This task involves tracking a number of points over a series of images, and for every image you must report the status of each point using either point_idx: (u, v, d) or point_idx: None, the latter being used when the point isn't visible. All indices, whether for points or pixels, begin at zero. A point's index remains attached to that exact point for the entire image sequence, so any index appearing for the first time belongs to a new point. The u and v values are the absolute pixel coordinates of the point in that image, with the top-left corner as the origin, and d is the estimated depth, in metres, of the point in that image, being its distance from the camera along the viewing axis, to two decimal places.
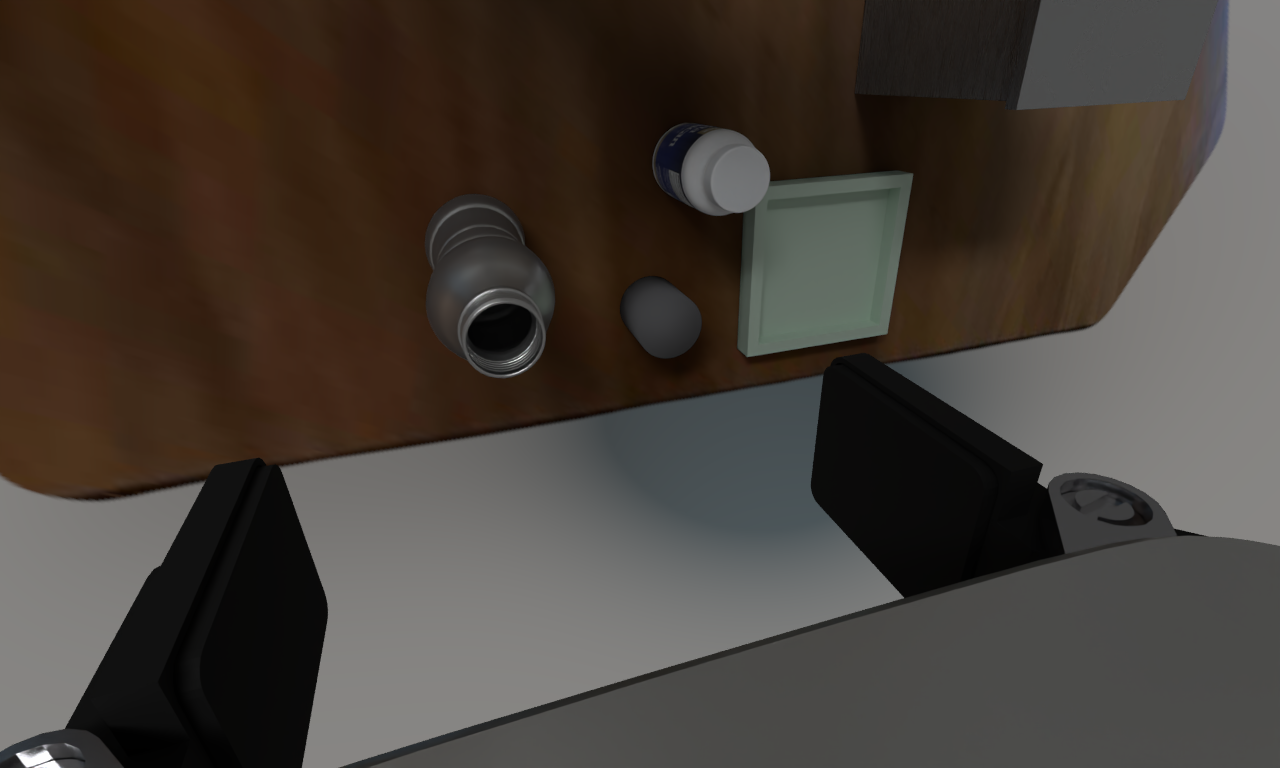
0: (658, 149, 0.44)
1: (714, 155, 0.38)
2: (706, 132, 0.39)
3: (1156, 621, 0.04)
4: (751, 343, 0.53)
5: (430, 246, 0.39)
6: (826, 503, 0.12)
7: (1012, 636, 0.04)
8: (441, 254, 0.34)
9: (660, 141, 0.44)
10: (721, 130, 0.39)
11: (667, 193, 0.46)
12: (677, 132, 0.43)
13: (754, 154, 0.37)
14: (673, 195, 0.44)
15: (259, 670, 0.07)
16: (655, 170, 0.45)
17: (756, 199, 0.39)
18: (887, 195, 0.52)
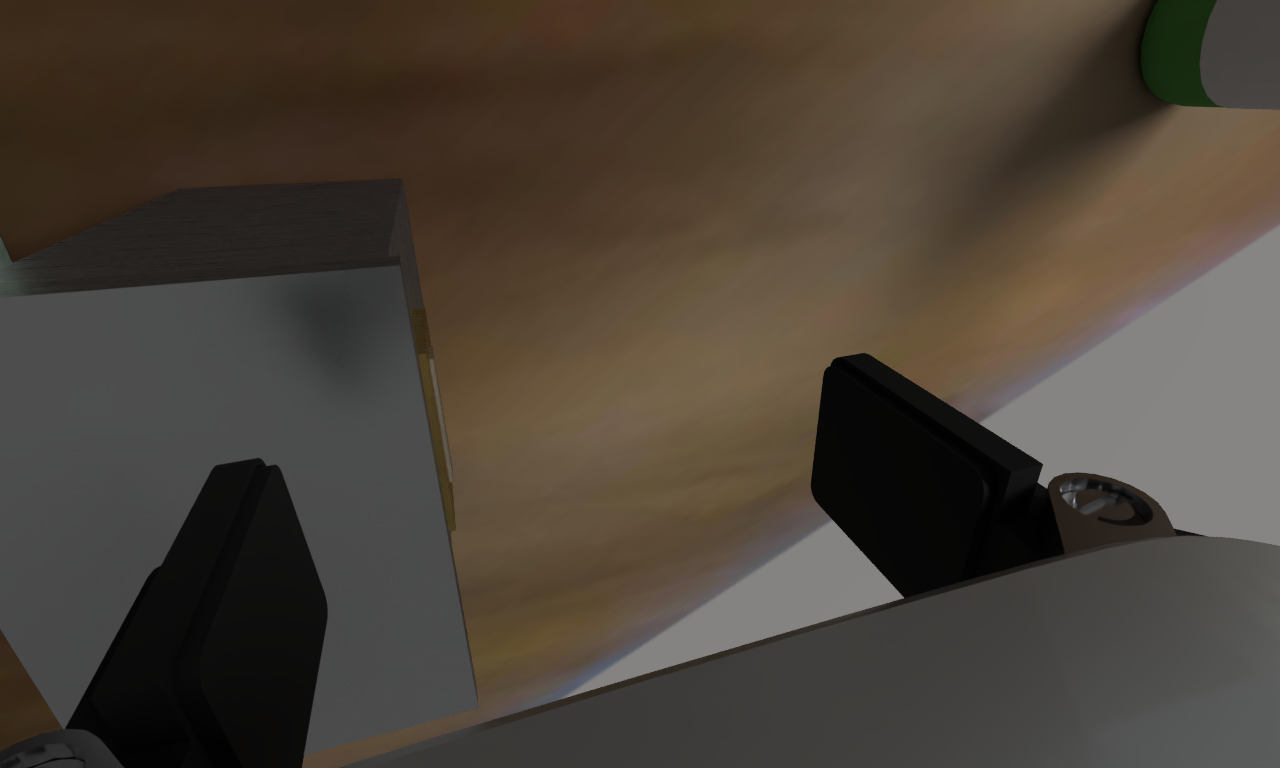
0: None
1: None
2: None
3: (1156, 621, 0.04)
4: None
5: None
6: (826, 503, 0.12)
7: (1012, 636, 0.04)
8: None
9: None
10: None
11: None
12: None
13: None
14: None
15: (259, 670, 0.07)
16: None
17: None
18: None
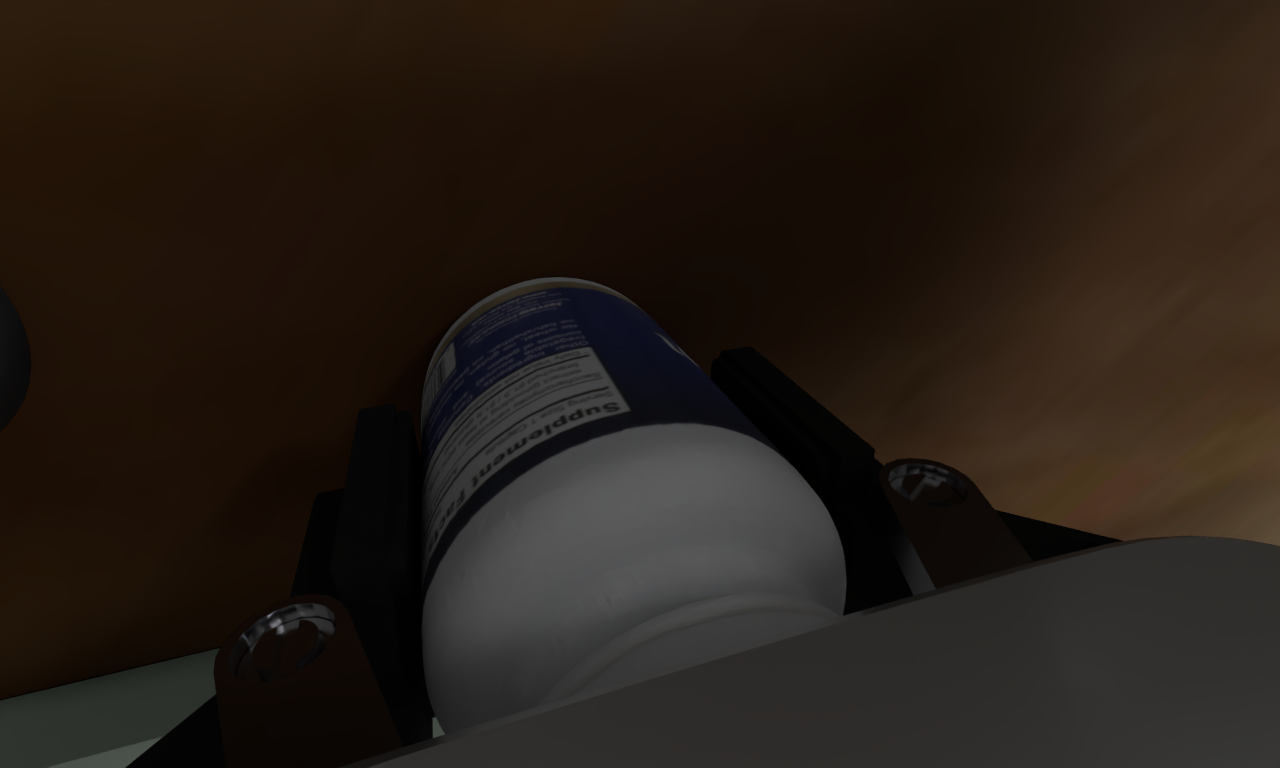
0: (608, 295, 0.12)
1: None
2: None
3: (1156, 621, 0.04)
4: None
5: None
6: None
7: (1013, 635, 0.04)
8: None
9: (626, 299, 0.12)
10: None
11: (443, 349, 0.11)
12: None
13: None
14: (455, 380, 0.10)
15: None
16: (529, 290, 0.11)
17: None
18: None
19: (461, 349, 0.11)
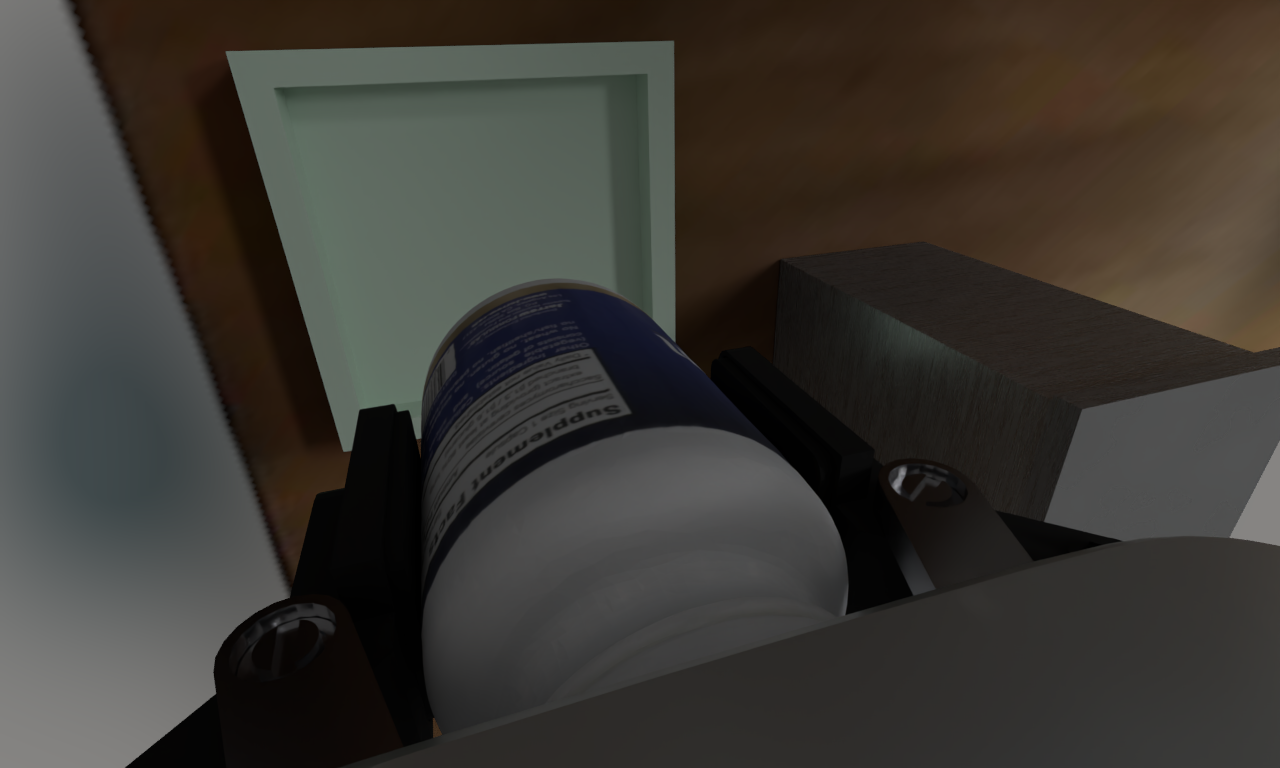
0: (609, 296, 0.12)
1: None
2: None
3: (1156, 621, 0.04)
4: (274, 62, 0.19)
5: None
6: None
7: (1011, 635, 0.04)
8: None
9: (627, 300, 0.12)
10: None
11: (443, 351, 0.11)
12: None
13: None
14: (455, 382, 0.10)
15: None
16: (529, 292, 0.11)
17: None
18: None
19: (461, 351, 0.11)
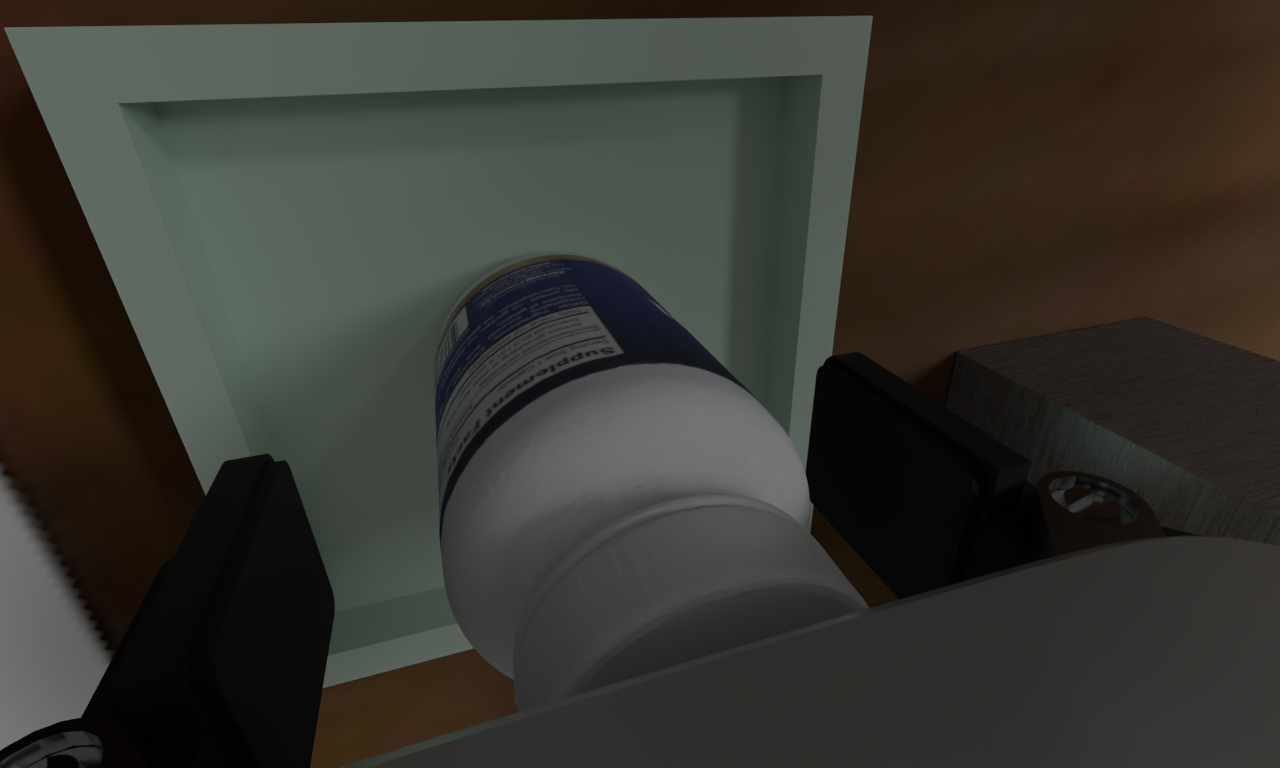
0: (606, 266, 0.13)
1: (807, 534, 0.07)
2: None
3: (1156, 621, 0.04)
4: (115, 50, 0.09)
5: None
6: (819, 502, 0.12)
7: (1011, 635, 0.04)
8: None
9: (623, 272, 0.13)
10: None
11: (456, 313, 0.12)
12: None
13: None
14: (468, 337, 0.11)
15: (270, 662, 0.07)
16: (534, 261, 0.13)
17: None
18: None
19: (473, 311, 0.12)
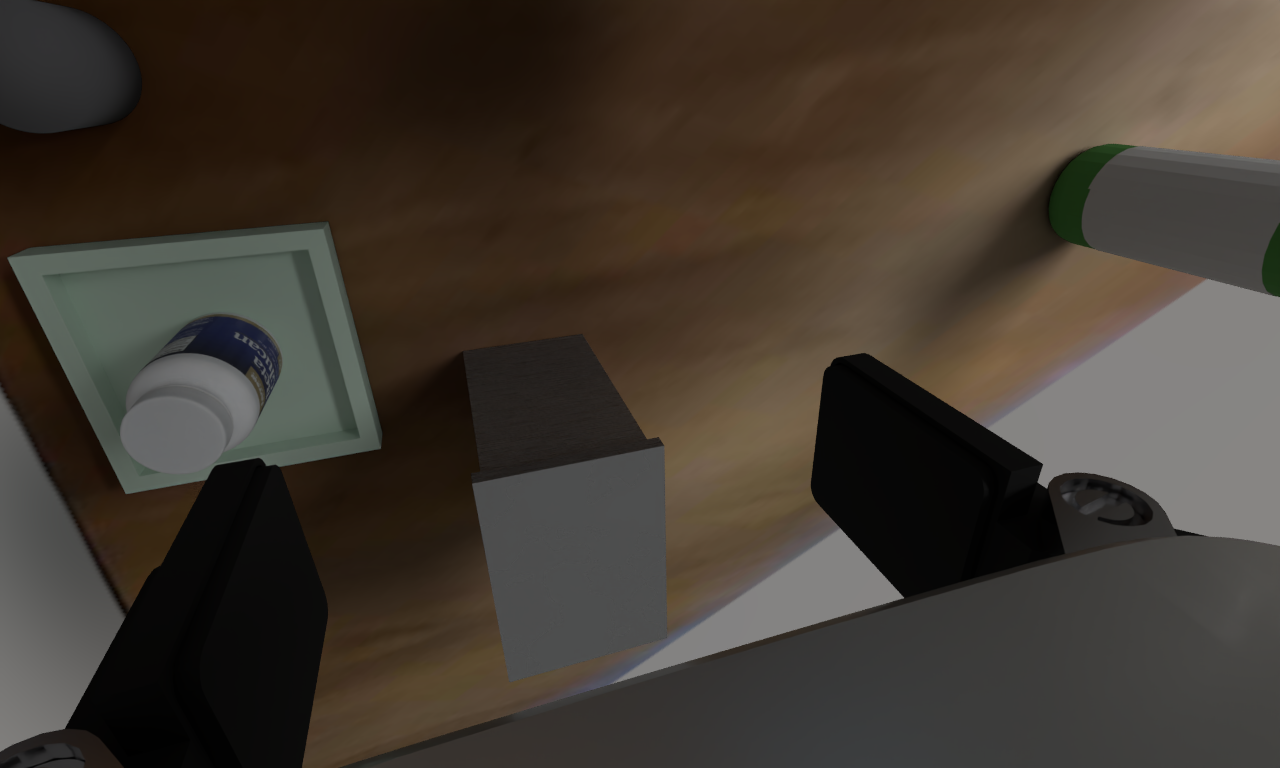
0: (234, 319, 0.34)
1: (206, 395, 0.28)
2: (249, 378, 0.31)
3: (1156, 621, 0.04)
4: (40, 261, 0.30)
5: None
6: (826, 503, 0.12)
7: (1014, 636, 0.04)
8: None
9: (247, 320, 0.35)
10: (254, 397, 0.31)
11: None
12: (258, 340, 0.34)
13: (216, 447, 0.28)
14: None
15: (258, 670, 0.07)
16: (204, 317, 0.34)
17: (150, 462, 0.28)
18: (348, 429, 0.40)
19: (174, 336, 0.33)
